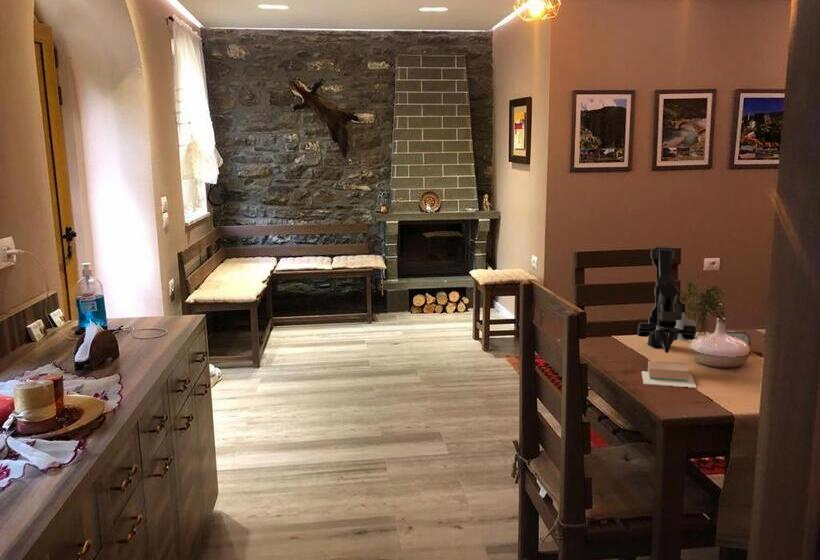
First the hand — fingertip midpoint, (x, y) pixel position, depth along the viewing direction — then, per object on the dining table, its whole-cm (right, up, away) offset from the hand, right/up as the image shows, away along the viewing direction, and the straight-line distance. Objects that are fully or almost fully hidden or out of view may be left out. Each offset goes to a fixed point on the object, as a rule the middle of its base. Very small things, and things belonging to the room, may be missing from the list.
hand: (667, 352), depth 228 cm
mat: (-2, -9, -6) cm, 11 cm away
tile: (0, -5, 0) cm, 5 cm away
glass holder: (+24, +1, +46) cm, 52 cm away
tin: (+33, -3, +25) cm, 42 cm away
